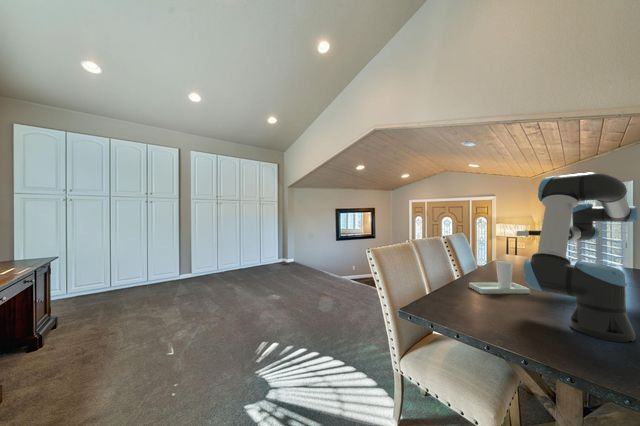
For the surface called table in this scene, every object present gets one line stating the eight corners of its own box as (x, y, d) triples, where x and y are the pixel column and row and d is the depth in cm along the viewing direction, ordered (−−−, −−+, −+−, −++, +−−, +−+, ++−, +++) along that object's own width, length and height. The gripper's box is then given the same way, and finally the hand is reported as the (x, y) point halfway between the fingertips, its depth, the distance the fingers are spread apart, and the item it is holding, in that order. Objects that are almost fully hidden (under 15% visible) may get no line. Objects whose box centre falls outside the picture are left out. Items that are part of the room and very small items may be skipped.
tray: (482, 294, 129) (482, 289, 129) (469, 287, 141) (468, 282, 141) (530, 293, 128) (529, 288, 128) (512, 286, 140) (512, 282, 140)
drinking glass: (505, 293, 128) (504, 263, 128) (493, 289, 135) (493, 261, 135) (516, 291, 129) (515, 262, 129) (504, 288, 136) (503, 260, 136)
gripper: (593, 243, 120) (552, 244, 118) (543, 238, 145) (508, 239, 143) (593, 227, 120) (552, 228, 118) (542, 225, 145) (508, 226, 143)
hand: (528, 234), depth 130 cm, fingers open, 13 cm apart
